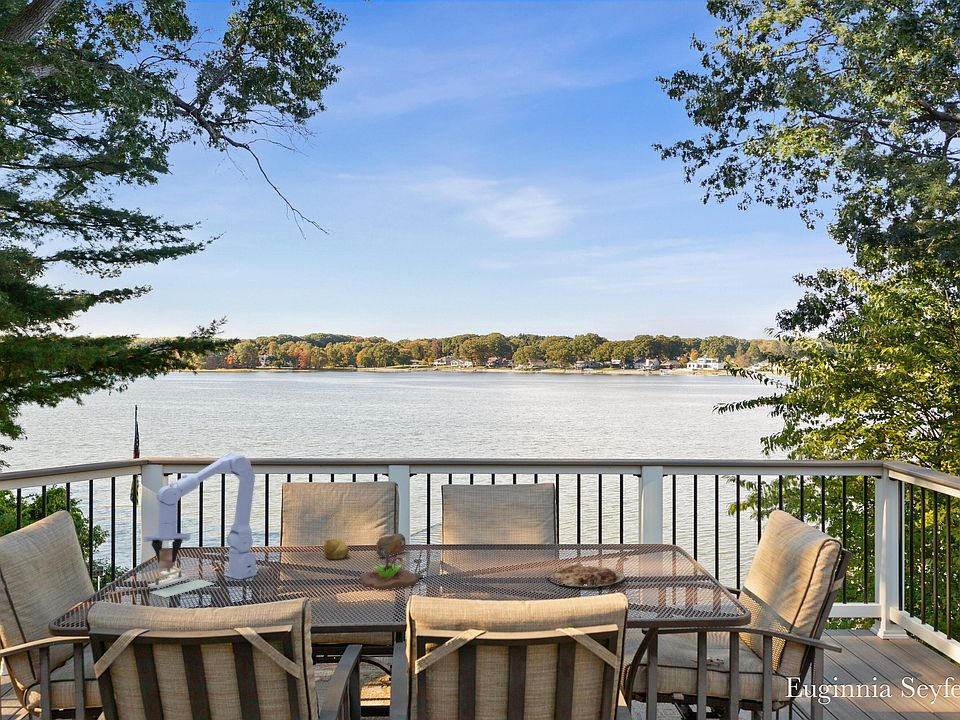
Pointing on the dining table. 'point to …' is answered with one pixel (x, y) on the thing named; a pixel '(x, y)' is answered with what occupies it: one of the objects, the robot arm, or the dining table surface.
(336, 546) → the bread roll
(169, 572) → the wire track
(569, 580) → the rice dish
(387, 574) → the plant
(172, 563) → the rust block
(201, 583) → the end mat
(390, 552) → the tree canopy
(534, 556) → the dining table surface
